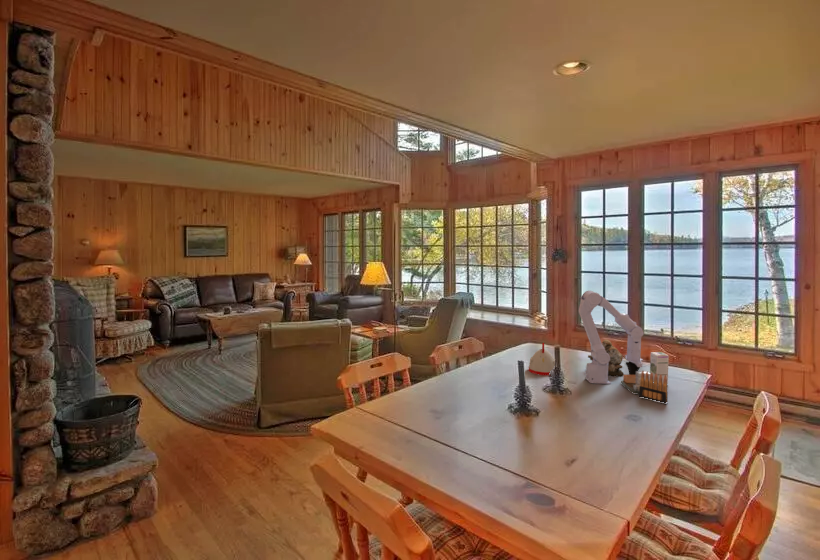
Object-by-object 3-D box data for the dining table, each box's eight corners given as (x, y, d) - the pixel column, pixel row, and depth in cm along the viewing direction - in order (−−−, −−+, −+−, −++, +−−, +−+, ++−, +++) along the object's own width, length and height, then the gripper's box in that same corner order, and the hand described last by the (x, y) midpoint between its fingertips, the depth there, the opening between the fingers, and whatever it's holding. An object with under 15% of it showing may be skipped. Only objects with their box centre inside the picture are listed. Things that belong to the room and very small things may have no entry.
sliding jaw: (626, 383, 194) (626, 377, 194) (623, 380, 198) (623, 374, 198) (649, 383, 193) (649, 377, 193) (645, 381, 197) (645, 375, 197)
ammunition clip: (638, 397, 180) (639, 370, 180) (640, 396, 182) (641, 369, 181) (665, 404, 172) (667, 376, 171) (667, 403, 173) (668, 375, 172)
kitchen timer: (528, 374, 214) (529, 345, 213) (529, 366, 227) (529, 339, 226) (557, 376, 210) (558, 347, 209) (556, 368, 223) (556, 341, 222)
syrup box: (668, 385, 196) (669, 354, 195) (655, 385, 196) (657, 354, 195) (661, 381, 202) (662, 351, 201) (648, 381, 202) (650, 351, 201)
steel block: (646, 386, 190) (647, 371, 189) (649, 388, 187) (650, 373, 186) (635, 386, 190) (635, 371, 190) (638, 388, 187) (638, 373, 187)
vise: (633, 394, 184) (634, 386, 184) (620, 383, 198) (621, 376, 198) (662, 395, 183) (662, 387, 183) (647, 384, 197) (647, 377, 197)
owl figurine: (582, 370, 220) (583, 338, 218) (593, 366, 228) (593, 335, 226) (618, 378, 206) (619, 344, 205) (627, 373, 214) (629, 341, 213)
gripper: (649, 353, 191) (648, 382, 192) (636, 346, 205) (635, 373, 206) (633, 353, 192) (632, 382, 193) (621, 346, 206) (620, 373, 207)
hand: (632, 377), depth 200 cm, fingers closed
